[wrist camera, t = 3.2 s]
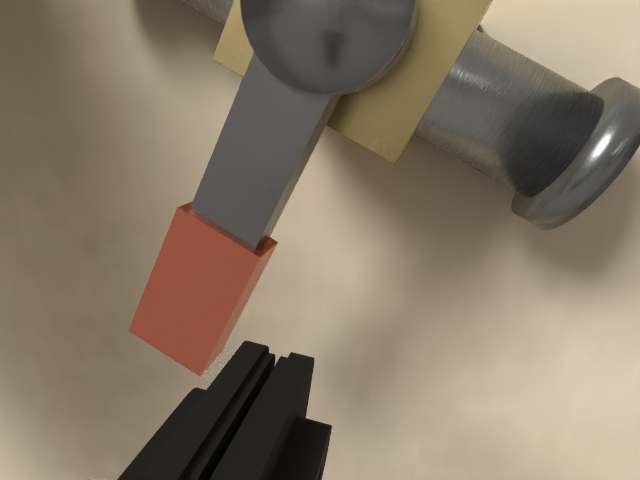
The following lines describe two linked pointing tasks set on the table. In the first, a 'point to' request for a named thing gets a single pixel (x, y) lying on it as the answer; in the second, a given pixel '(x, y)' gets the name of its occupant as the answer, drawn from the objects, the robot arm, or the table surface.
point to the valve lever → (262, 162)
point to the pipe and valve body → (481, 109)
